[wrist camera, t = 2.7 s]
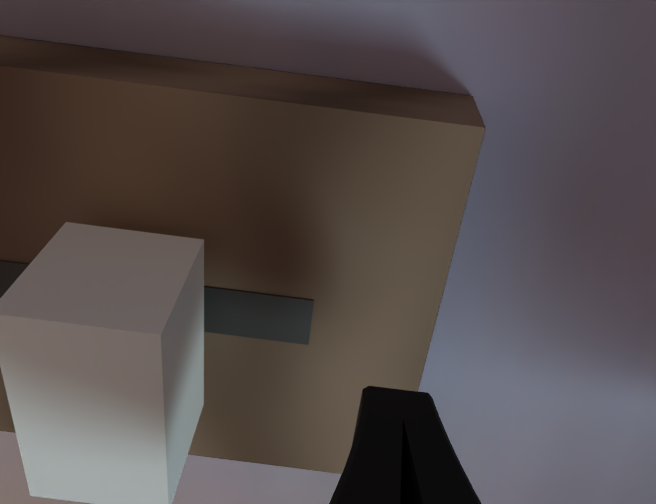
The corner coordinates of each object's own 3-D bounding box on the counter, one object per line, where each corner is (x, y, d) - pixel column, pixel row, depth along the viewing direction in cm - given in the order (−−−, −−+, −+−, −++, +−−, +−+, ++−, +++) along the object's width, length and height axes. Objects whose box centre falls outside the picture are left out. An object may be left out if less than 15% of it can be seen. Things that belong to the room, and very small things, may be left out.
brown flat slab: (472, 96, 14) (485, 128, 12) (393, 428, 20) (394, 481, 18) (-403, -16, 14) (-511, 1, 12) (-225, 350, 20) (-282, 396, 18)
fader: (208, 230, 14) (160, 334, 11) (207, 392, 16) (169, 513, 13) (73, 213, 14) (-13, 312, 11) (94, 378, 16) (30, 495, 13)
